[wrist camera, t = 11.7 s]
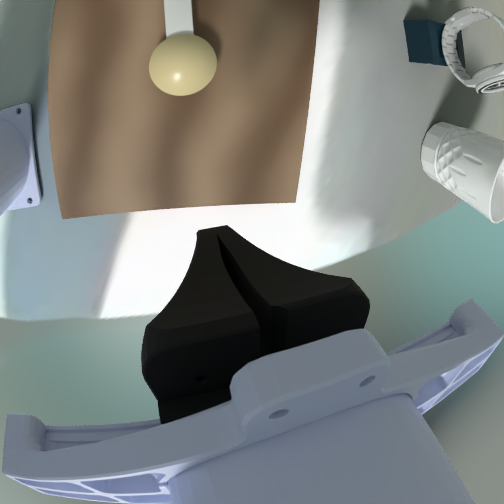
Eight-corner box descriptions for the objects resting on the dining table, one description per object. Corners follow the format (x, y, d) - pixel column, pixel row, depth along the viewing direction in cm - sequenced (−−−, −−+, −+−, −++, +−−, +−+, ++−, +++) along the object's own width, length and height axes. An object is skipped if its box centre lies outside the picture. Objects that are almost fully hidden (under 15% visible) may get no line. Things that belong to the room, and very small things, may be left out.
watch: (411, 80, 21) (509, 106, 12) (400, 4, 16) (499, 3, 7) (444, 81, 21) (531, 107, 13) (436, 13, 17) (525, 21, 8)
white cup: (464, 143, 26) (528, 176, 19) (435, 193, 29) (497, 235, 21) (438, 102, 23) (516, 129, 15) (405, 158, 25) (482, 200, 17)
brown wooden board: (67, 210, 19) (62, 219, 18) (70, -37, 8) (65, -44, 7) (288, 195, 24) (295, 203, 23) (312, -31, 13) (322, -36, 12)
